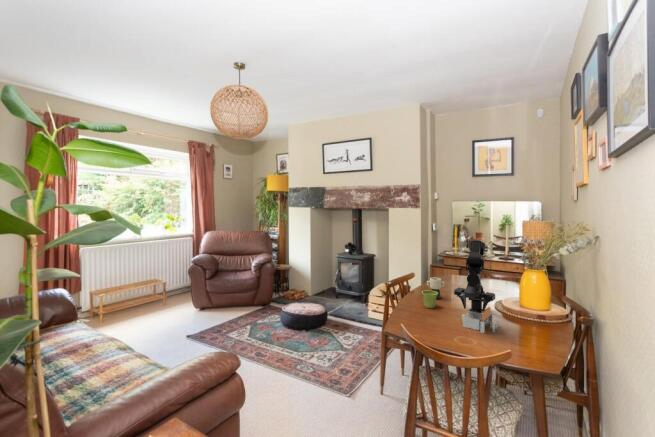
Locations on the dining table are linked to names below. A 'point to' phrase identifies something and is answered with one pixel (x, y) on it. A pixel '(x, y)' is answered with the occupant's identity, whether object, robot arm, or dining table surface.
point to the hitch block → (478, 322)
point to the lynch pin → (487, 323)
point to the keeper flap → (486, 314)
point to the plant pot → (429, 298)
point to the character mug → (435, 285)
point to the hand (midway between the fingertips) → (473, 310)
